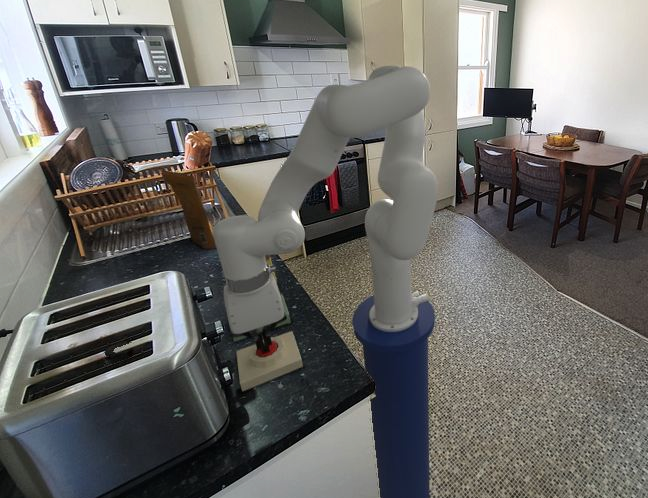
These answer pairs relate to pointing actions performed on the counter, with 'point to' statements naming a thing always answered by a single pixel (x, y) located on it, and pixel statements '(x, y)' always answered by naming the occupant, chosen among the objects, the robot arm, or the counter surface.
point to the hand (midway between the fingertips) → (265, 348)
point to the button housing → (268, 362)
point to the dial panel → (276, 325)
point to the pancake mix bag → (191, 208)
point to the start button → (272, 350)
